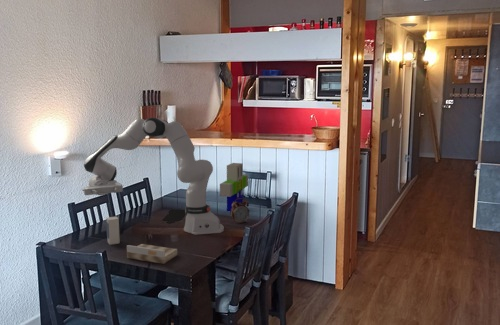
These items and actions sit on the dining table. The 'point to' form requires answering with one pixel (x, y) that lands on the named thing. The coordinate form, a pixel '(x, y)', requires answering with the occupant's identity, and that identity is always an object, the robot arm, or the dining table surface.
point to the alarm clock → (239, 211)
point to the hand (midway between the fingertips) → (106, 192)
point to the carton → (112, 230)
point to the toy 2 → (234, 184)
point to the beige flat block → (151, 253)
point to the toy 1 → (174, 216)
